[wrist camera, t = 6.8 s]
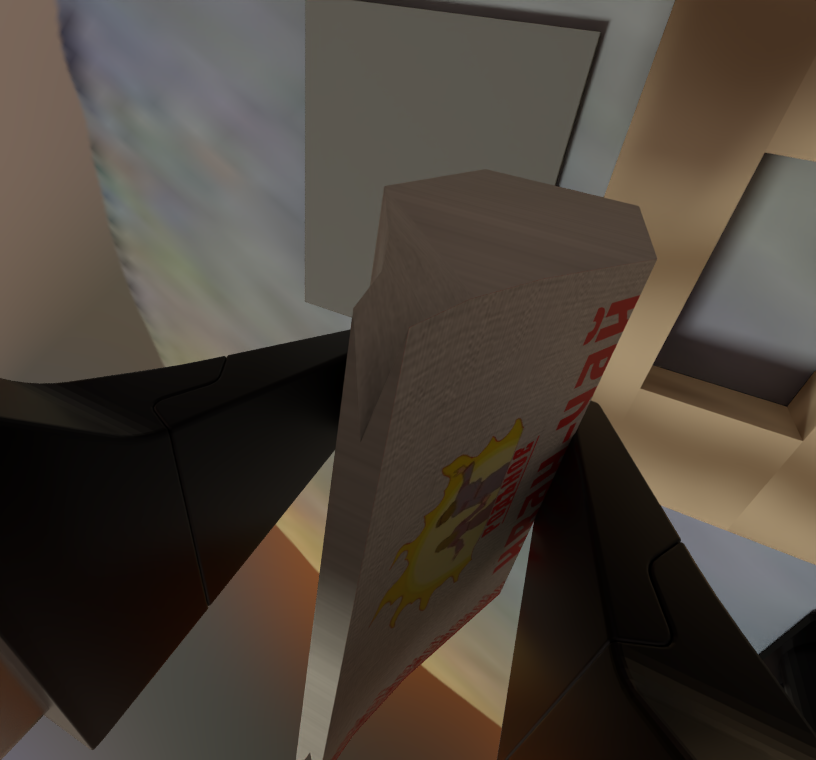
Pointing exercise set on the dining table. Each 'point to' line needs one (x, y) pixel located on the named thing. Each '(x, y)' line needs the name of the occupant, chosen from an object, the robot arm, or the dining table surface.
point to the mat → (421, 117)
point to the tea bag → (456, 416)
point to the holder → (688, 254)
